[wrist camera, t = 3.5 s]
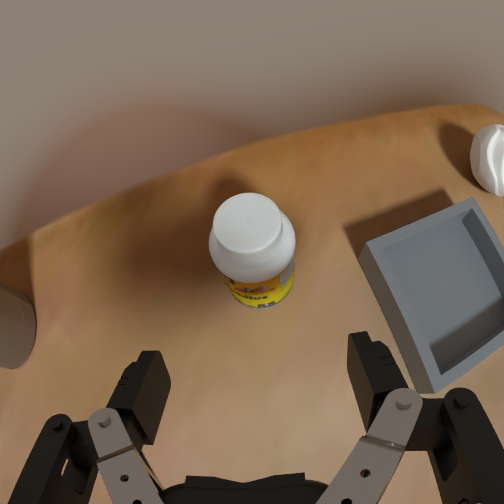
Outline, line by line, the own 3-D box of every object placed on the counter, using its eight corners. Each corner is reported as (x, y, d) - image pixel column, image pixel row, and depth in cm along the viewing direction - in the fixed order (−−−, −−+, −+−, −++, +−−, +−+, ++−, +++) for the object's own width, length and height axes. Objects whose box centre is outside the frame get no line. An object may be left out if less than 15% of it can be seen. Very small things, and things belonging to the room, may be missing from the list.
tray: (417, 393, 21) (434, 393, 18) (357, 259, 27) (365, 242, 24) (514, 324, 22) (535, 315, 19) (458, 214, 27) (472, 196, 24)
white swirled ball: (480, 213, 27) (514, 171, 20) (447, 159, 30) (471, 112, 23) (518, 200, 27) (549, 162, 20) (488, 151, 30) (511, 111, 23)
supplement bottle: (216, 291, 27) (179, 238, 18) (250, 240, 29) (231, 168, 19) (273, 323, 25) (264, 284, 16) (305, 267, 27) (313, 202, 18)
